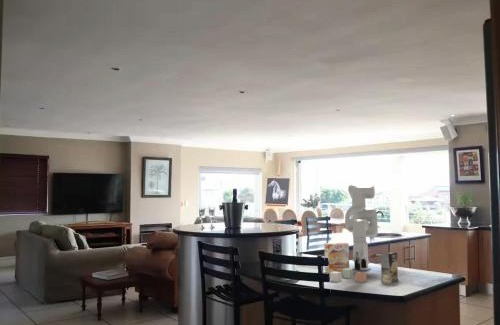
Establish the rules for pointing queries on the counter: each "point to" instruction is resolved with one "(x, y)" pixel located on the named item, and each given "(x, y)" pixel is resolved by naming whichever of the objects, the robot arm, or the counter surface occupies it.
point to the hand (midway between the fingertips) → (360, 268)
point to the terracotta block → (360, 276)
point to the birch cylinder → (386, 278)
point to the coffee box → (389, 264)
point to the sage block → (347, 272)
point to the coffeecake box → (337, 256)
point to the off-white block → (335, 276)
